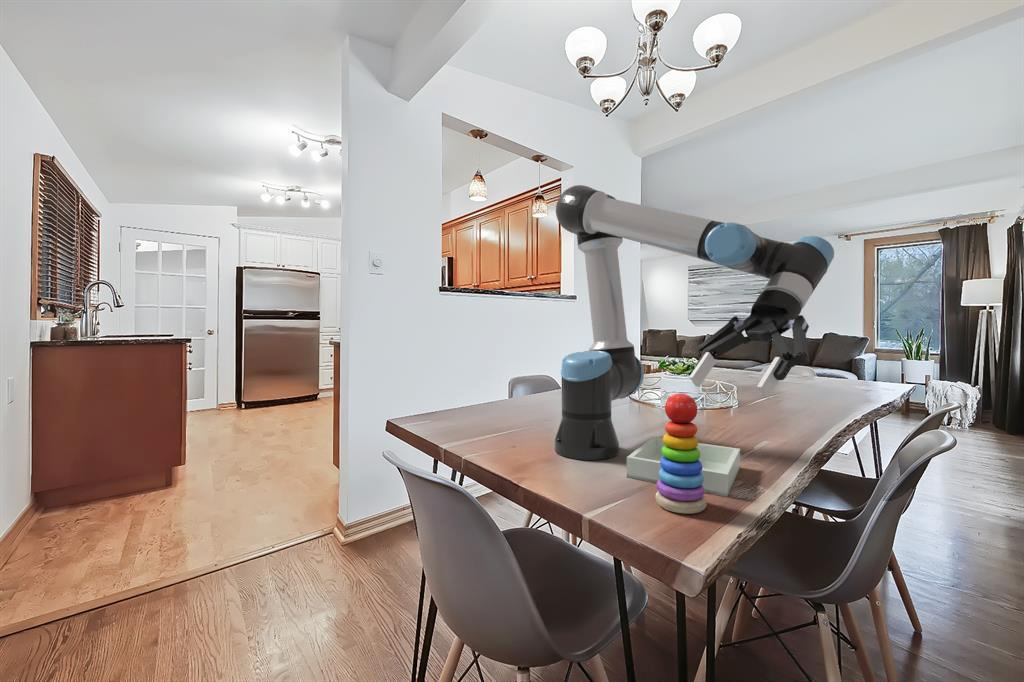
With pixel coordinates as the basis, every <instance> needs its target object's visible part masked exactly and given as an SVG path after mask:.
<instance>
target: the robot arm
mask: <svg viewBox="0 0 1024 682" xmlns="http://www.w3.org/2000/svg"><path fill="white" fill-rule="evenodd" d="M555 216H556V219H557V221H558V223H559V225H560V226H561V228H563V229H564V230H566V231H567V232H569V233H571V234H574V235H576V239H577V249H578V250H579V251H581V252H582V253H583V254H584V261H585V272H586V280H587V281H586V282H587V289H588V298H589V299H588V301H589V306H590V307H589V309H590V319H591V328H592V330H591V331H592V339H593V344H592V345H591V347H589V348H588V350H584V351H578V352H572V353H570V354H567V355H565V356H564V357H563V359H562V361H561V369H560V375H561V419H560V422H559V426H558V429H557V433H556V434H555V439H554V451H555V453H557V454H558V455H560V456H563V457H565V458H570V459H574V460H575V459H576V460H584V461H585V460H587V461H597V460H598V461H600V460H606V459H610V458H611V459H612V458H614V457H617V456H618V455H619V453H620V443H619V438H618V436H617V433H616V428H615V427H614V426H615V425H614V423H613V420H612V401H615V400H622V399H625V398H627V397H630V396H631V395H633V394H635V393H636V392H637V391H638V390H639V388H640V387H641V386H642V384H643V382H644V377H645V372H644V367H643V364H642V361H640V359H638V357H637V356H636V353H635V352H636V351H635V345H634V344H633V343H632V342H630V341H629V339H628V335H627V333H628V332H627V325H626V315H625V308H624V306H625V305H624V299H623V298H624V296H623V290H622V289H623V288H622V279H621V270H620V261H619V260H620V259H619V253H618V250H619V247H620V246H621V244H622V243H623V242H624V241H623V239H626V240H630V241H633V242H637V243H640V244H643V245H647V246H648V245H649V246H652V247H655V248H659V249H663V250H667V251H671V252H673V253H678V254H681V255H686V256H688V257H691V258H696V259H700V260H703V261H706V262H710V263H713V264H717V265H718V266H723V267H726V268H728V269H729V270H730V269H732V270H733V271H734V270H737V271H740V272H743V273H747V274H751V275H755V276H759V277H763V278H766V279H769V281H768V282H767V283H766V285H765V286H764V287H763V289H762V291H761V293H760V294H759V296H757V298H756V300H755V301H754V302H753V304H752V306H751V310H750V315H749V316H747V318H745V319H739V317H738V316H737V315H736V316H735V315H734V316H733V317H731V318H730V320H729V321H728V322H727V323H726V324H725V325H724V326H723V327H720V328H719V330H717V331H716V332H714V333H713V334H712V335H711V336H710V337H708V338H706V340H704V341H703V342H702V343H700V344H699V345H698V346H697V347H696V349H697V350H698V352H699V353H700V355H701V356H700V358H699V359H698V360H697V362H696V363H695V367H694V369H693V371H692V372H691V374H690V375H689V377H688V378H689V380H690V381H691V382H692V383H693V385H694V386H695V387H696V388H697V387H698V388H700V387H701V386H702V383H704V382H705V381H704V380H705V379H706V378H707V376H708V375H709V373H710V372H711V370H712V369H713V368H714V366H715V364H716V363H717V360H716V359H717V358H719V357H721V356H723V355H724V354H726V353H728V352H729V351H732V350H733V349H735V348H737V347H738V346H741V345H743V344H745V345H747V344H748V343H750V342H759V341H761V342H769V341H772V340H773V343H774V344H775V346H776V348H777V350H778V352H779V354H780V356H781V357H780V356H775V357H774V358H773V360H772V362H771V363H770V364H769V366H768V368H767V370H766V372H765V373H764V374H763V376H762V378H761V380H760V381H759V383H758V384H757V386H756V387H757V388H758V390H759V392H760V393H761V394H762V396H763V397H764V398H768V399H769V398H770V396H771V395H772V394H773V392H774V390H775V388H776V387H777V385H778V384H779V382H780V381H784V379H786V378H787V376H788V374H789V372H791V371H790V370H791V369H792V368H794V367H795V366H796V365H797V366H798V365H801V366H807V365H809V363H810V359H809V357H810V356H809V351H808V349H809V348H808V341H807V332H808V330H809V327H810V325H809V324H808V322H807V320H806V319H805V317H804V315H802V314H801V312H802V310H803V308H804V307H805V306H806V304H807V303H808V301H809V300H810V298H811V296H812V295H813V293H814V291H815V290H816V288H817V287H818V285H819V283H820V282H821V281H822V279H823V278H824V276H825V275H826V273H827V272H828V270H829V267H830V265H831V263H832V261H833V259H834V257H835V249H834V247H833V246H832V244H831V243H830V242H829V241H828V240H827V239H825V238H823V237H821V236H815V235H810V236H802V237H799V238H798V239H797V240H796V241H794V242H793V243H789V242H784V241H778V240H774V239H770V238H766V237H762V236H760V235H758V234H757V233H755V232H753V231H752V230H751V229H750V228H748V227H747V226H746V225H744V224H741V223H737V222H721V221H716V220H714V219H713V220H712V219H708V218H703V217H700V216H699V217H698V216H694V215H692V214H691V215H690V214H686V213H681V212H675V211H673V210H672V211H670V210H667V209H662V208H657V207H653V206H647V205H644V204H638V203H636V202H635V203H634V202H629V201H625V200H621V199H620V200H619V199H617V198H616V197H614V196H612V195H610V194H607V193H605V192H604V191H601V190H597V189H594V188H592V187H590V186H587V185H580V184H579V185H573V186H570V187H568V188H567V189H565V190H564V191H563V192H562V193H561V195H560V196H559V197H558V200H557V201H556V205H555ZM790 329H791V330H792V331H791V332H792V340H793V352H794V353H791V352H790V350H789V347H788V346H787V344H786V342H785V340H784V339H783V336H782V334H784V333H787V331H789V330H790ZM744 331H745V335H746V336H745V335H744V334H743V332H744Z"/></svg>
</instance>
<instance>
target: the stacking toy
mask: <svg viewBox="0 0 1024 682" xmlns="http://www.w3.org/2000/svg"><path fill="white" fill-rule="evenodd" d="M664 411H665V412H664V413H665V414H666V416H667V417H668V419H669V420H670V421H668V422H666V424H665V426H664V431H665V432H666V433H665V434H664V435H663V436H662V438H663V443H664V444H665V446H663V448H662V454H663V456H664V457H662V459H661V461H660V464H661V467H662V468H661V469H660V471H659V477H660V480H658V482H657V483H656V489H657V492H656V493H655V500H656V503H657V504H658V505H659V506H660V507H661V508H663V509H664V510H667V511H669V512H673V513H677V514H684V515H685V514H687V515H690V514H691V515H692V514H693V515H694V514H698V513H701V512H702V511H704V510H705V509H706V508H707V503H708V502H707V499H706V497H705V493H704V492H705V490H704V487H703V486H702V483H703V481H704V477H703V474H702V473H701V470H702V463H701V462H700V461H699V460H698V459H699V458H700V451H699V450H698V448H696V447H697V446H698V443H699V439H698V438H697V437H696V434H697V432H698V427H697V425H696V424H695V423H693V421H694V420H695V419H696V417H697V415H698V405H697V402H696V400H695V399H694V398H693V397H691V395H688V394H685V393H675V394H673V395H671V396H670V397H668V399H666V401H665V404H664Z"/></svg>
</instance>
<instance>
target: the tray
mask: <svg viewBox="0 0 1024 682" xmlns="http://www.w3.org/2000/svg"><path fill="white" fill-rule="evenodd" d="M663 446H665V444H664V443H663V437H656V436H652V437H651V438H649V439H648V440H647V441H646V442H644V443H643V444H642V445H640V446H639V447H637V449H635V450H634V451H632V453H630V454H629V455H627V456H626V478H629V479H635V480H640V481H644V482H645V481H646V482H650V483H655V484H657V482H658V480H660V477H659V471H660V469H661V468H662V467H661V464H660V461H661V459H662V457H664V456H663V454H662V448H663ZM696 448H698V450H699V451H700V458H699V459H698V460H699V461H700V462H701V463H702V470H701V473H702V474H703V477H704V481H703V483H702V486H703V487H704V490H705V492H704V494H705V493H706V494H710V495H716V496H720V497H726V498H728V497H729V494H730V492H731V490H732V487H733V485H734V482H735V480H736V477H737V476H738V473H739V471H740V468H741V448H738V447H737V448H736V447H729V446H723V445H715V444H707V443H700V442H698V446H697V447H696Z"/></svg>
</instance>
